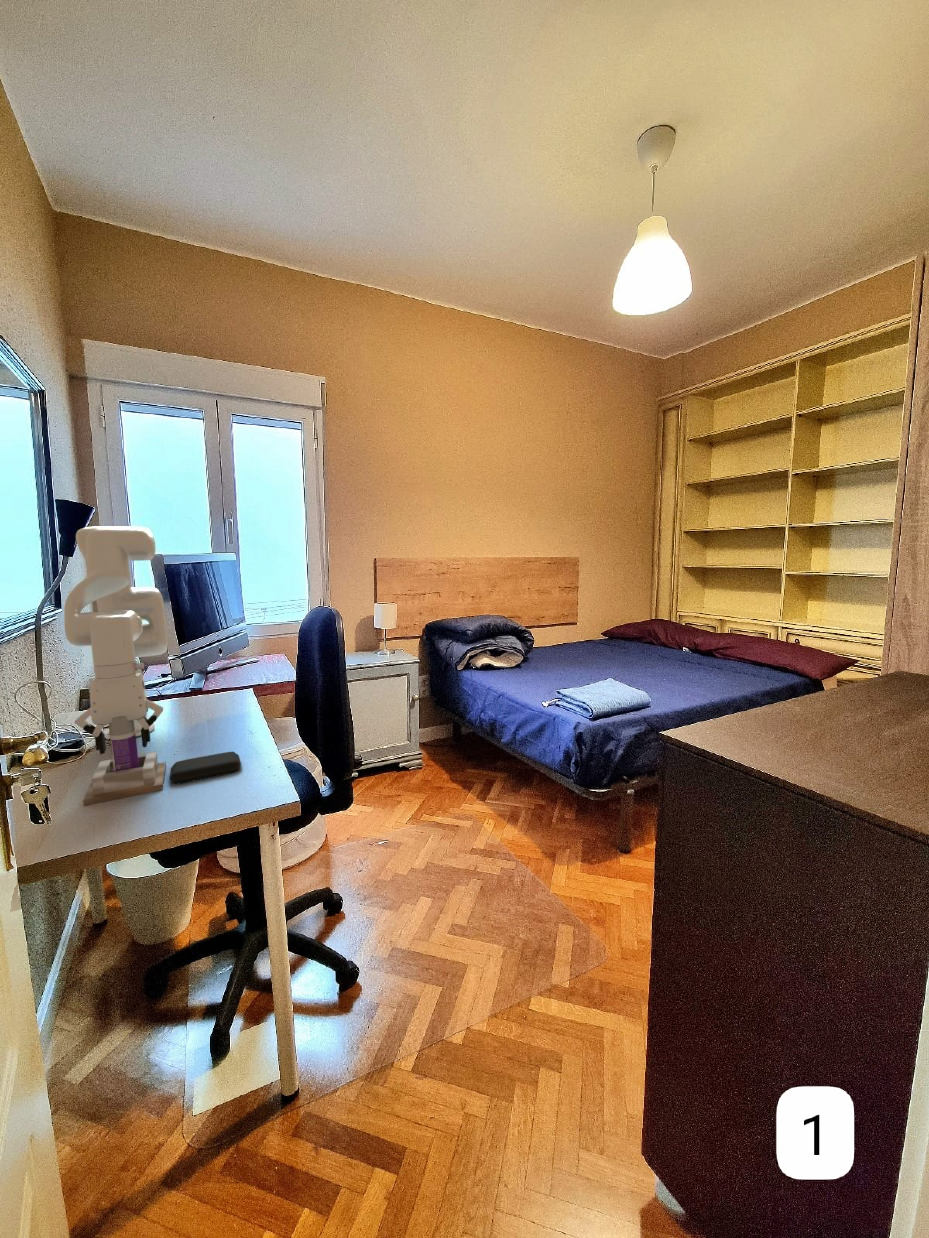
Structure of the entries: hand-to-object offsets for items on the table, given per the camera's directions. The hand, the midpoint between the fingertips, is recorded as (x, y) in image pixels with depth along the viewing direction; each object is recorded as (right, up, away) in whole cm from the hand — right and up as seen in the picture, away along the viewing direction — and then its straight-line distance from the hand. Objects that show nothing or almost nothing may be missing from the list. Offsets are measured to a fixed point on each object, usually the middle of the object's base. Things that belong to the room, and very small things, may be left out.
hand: (124, 748), depth 112 cm
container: (0, -7, +1) cm, 7 cm away
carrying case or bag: (+14, -8, +8) cm, 18 cm away
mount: (0, -8, +1) cm, 8 cm away
